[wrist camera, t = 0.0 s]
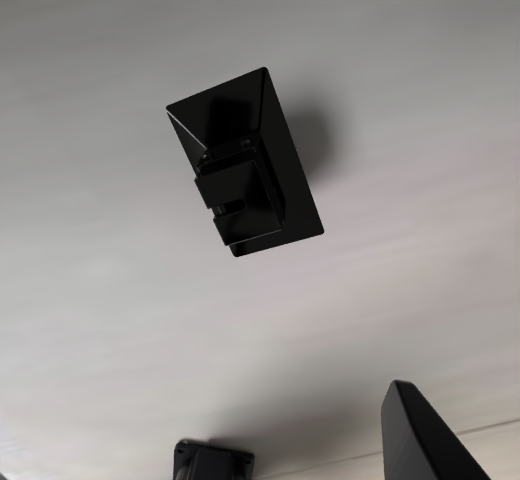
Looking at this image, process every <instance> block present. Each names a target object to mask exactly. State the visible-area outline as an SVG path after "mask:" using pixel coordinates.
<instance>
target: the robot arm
mask: <svg viewBox="0 0 520 480" xmlns="http://www.w3.org/2000/svg"><path fill="white" fill-rule="evenodd" d="M381 423H382V441H383V458H384V475H385V480H491V479H490V478H489V476H488V475H487V474H486V473H485V471H484V470H483V469H482V468H481V466H480V465H479V464H478V463H477V461H476V460H475V459H474V458H473V457H472V455H471V454H470V453H469V452H468V450H467V449H466V448H465V447H464V445H463V444H462V443H461V442H460V440H459V439H458V438H457V437H456V435H455V434H454V433H453V432H452V431H451V429H450V428H449V427H448V426H447V424H446V423H445V422H444V421H443V419H442V418H441V417H440V416H439V414H438V413H437V412H436V411H435V410H434V408H433V407H432V406H431V405H430V403H429V402H428V401H427V400H426V398H425V397H424V396H423V395H422V393H421V392H420V391H419V390H418V388H417V387H416V386H415V385H414V384H413V383H411V382H407V381H401V380H393V381H392V382H391V384H390V386H389V389H388V391H387V394H386V396H385V399H384V401H383V404H382V408H381ZM254 461H255V457H254V455H252V454H249V453H242V452H236V451H229V450H223V449H217V448H210V447H204V446H197V445H191V444H185V443H178V444H176V446H175V450H174V471H173V480H251V477H252V472H253V467H254Z"/></svg>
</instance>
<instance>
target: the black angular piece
mask: <svg viewBox="0 0 520 480" xmlns="http://www.w3.org/2000/svg"><path fill="white" fill-rule="evenodd" d="M166 112H167V114H168V116H169V118H170V120H171V123H172V125H173V127H174V129H175V131H176V133H177V135H178V138H179V140H180V142H181V144H182V146H183V148H184V150H185V153H186V155H187V157H188V159H189V161H190V163H191V165H192V168H193V170H194V172H195V174H196V178H195V180H194V181H195V183H196V186H197V188H198V190H199V192H200V194H201V196H202V198H203V200H204V202H205V204H206V207H207V209H210V208H212V211H213V213H214V215H215V216H214V219H213V221H214V223H215V225H216V228H217V230H218V232H219V234H220V236H221V238H222V240H223V242H224V244H225V246H228V245H229V247H230V249H231V251H232V253H233V255H234V256H235V257H239V256H243V255H247V254H251V253H254V252H258V251H262V250H265V249H269V248H273V247H277V246H280V245H284V244H288V243H292V242H295V241H299V240H303V239H306V238H310V237H314V236H318V235H321V234H323V233H324V229H323V226H322V223H321V220H320V217H319V214H318V211H317V209H316V206H315V203H314V200H313V197H312V194H311V191H310V189H309V186H308V183H307V180H306V177H305V174H304V172H303V169H302V166H301V163H300V160H299V157H298V154H297V152H296V149H295V146H294V143H293V140H292V137H291V134H290V132H289V129H288V126H287V123H286V120H285V117H284V115H283V112H282V109H281V106H280V103H279V100H278V97H277V95H276V92H275V89H274V86H273V83H272V80H271V77H270V75H269V72H268V69H267V68H266V67H262V68H259V69H257V70H254V71H252V72H249V73H247V74H244V75H242V76H239V77H237V78H234V79H232V80H230V81H227V82H225V83H222V84H220V85H217V86H215V87H212V88H210V89H207V90H205V91H202V92H200V93H197V94H195V95H193V96H190V97H188V98H185V99H183V100H180V101H178V102H175V103H173V104H170V105H168V106H167V107H166Z"/></svg>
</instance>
